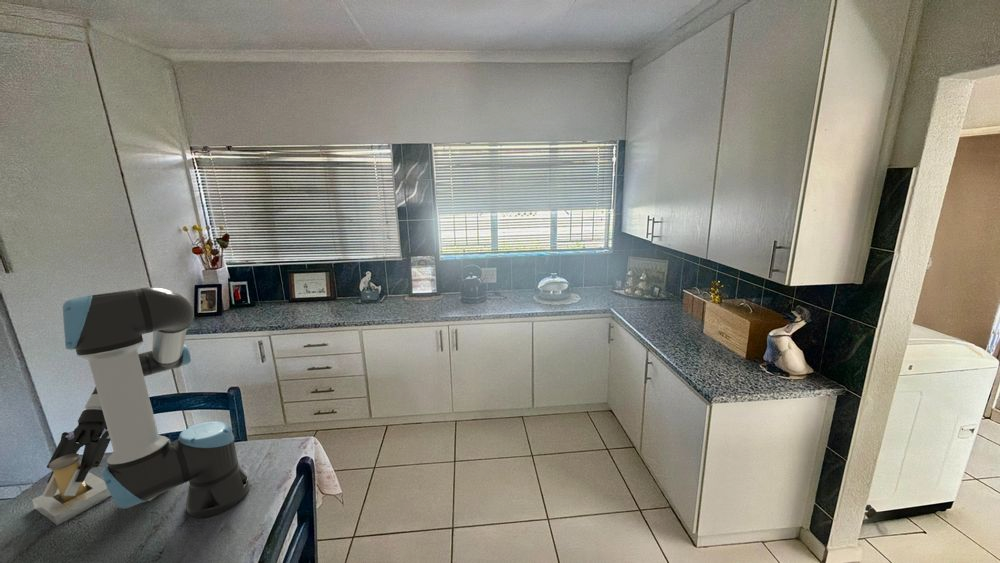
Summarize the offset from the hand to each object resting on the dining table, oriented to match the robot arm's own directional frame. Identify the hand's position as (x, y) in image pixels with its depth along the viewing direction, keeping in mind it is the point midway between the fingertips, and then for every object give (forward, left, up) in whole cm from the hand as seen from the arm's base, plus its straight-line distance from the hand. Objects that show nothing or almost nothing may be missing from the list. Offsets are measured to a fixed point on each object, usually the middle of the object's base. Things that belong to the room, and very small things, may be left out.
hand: (58, 495), depth 107 cm
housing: (+2, -3, -5) cm, 6 cm away
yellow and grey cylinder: (+2, -3, -4) cm, 6 cm away
